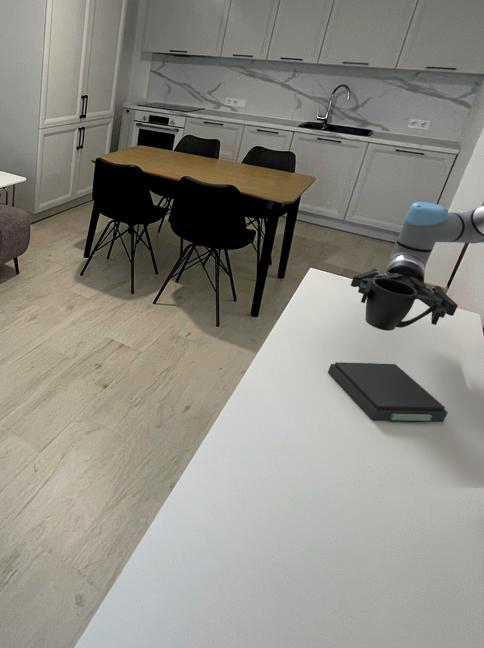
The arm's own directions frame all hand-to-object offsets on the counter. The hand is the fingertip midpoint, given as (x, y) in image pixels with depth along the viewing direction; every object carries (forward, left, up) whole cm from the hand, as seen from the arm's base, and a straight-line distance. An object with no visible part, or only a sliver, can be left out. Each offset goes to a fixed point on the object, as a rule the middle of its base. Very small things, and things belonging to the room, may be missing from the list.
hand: (399, 307), depth 104 cm
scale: (-7, +2, -18) cm, 19 cm away
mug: (+3, -2, -7) cm, 8 cm away
